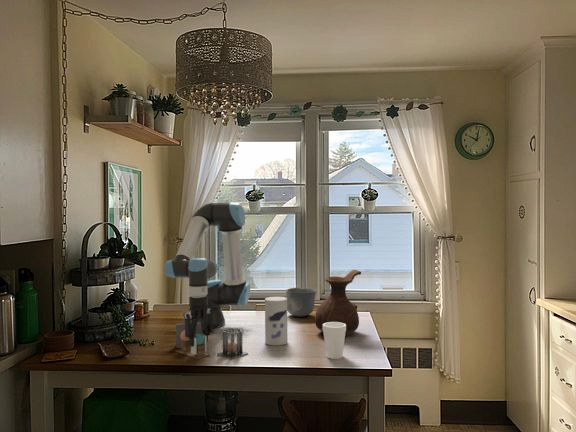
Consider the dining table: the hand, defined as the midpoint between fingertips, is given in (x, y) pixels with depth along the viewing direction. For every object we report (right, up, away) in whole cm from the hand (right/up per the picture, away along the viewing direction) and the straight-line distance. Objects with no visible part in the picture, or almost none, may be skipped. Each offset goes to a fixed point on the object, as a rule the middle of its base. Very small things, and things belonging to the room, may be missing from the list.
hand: (198, 352), depth 197 cm
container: (+31, -1, +19) cm, 37 cm away
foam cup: (+56, -1, -2) cm, 56 cm away
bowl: (+44, 0, +71) cm, 83 cm away
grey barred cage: (+14, -1, +1) cm, 14 cm away
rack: (-3, -1, +3) cm, 5 cm away
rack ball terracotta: (-7, +5, +6) cm, 10 cm away
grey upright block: (-7, -1, +14) cm, 16 cm away
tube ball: (+14, +2, +1) cm, 14 cm away
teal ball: (0, +5, 0) cm, 5 cm away
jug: (+61, -1, +34) cm, 69 cm away
